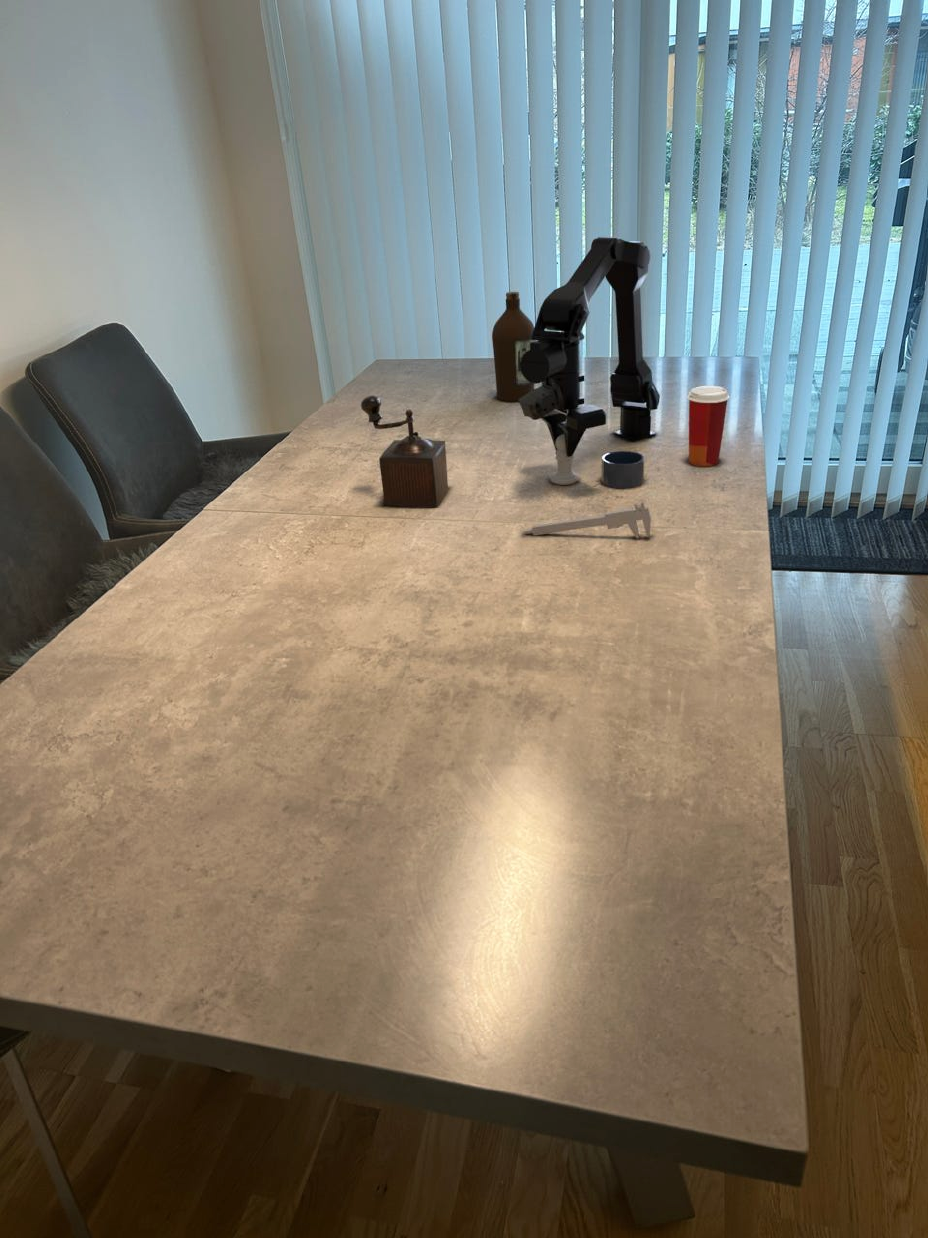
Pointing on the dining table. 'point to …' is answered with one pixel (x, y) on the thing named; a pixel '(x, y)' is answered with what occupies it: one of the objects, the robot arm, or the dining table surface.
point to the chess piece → (563, 465)
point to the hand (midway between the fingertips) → (564, 453)
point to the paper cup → (706, 424)
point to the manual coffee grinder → (409, 464)
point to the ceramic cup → (622, 469)
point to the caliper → (600, 521)
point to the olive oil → (511, 350)
